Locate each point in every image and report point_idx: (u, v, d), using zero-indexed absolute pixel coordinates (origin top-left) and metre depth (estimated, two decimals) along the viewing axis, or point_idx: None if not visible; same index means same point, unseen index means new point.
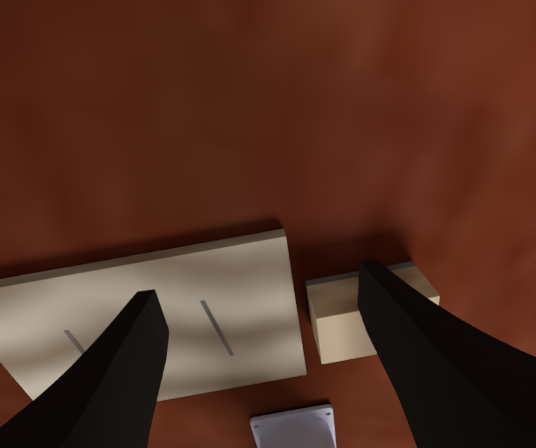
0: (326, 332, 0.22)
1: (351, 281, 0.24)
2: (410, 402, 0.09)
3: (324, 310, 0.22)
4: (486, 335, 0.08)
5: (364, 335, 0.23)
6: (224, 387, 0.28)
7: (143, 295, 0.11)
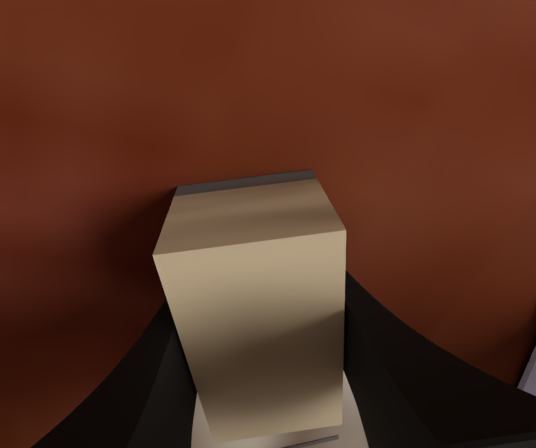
0: (253, 428, 0.11)
1: None
2: (364, 409, 0.09)
3: None
4: (430, 343, 0.07)
5: (273, 377, 0.10)
6: None
7: None
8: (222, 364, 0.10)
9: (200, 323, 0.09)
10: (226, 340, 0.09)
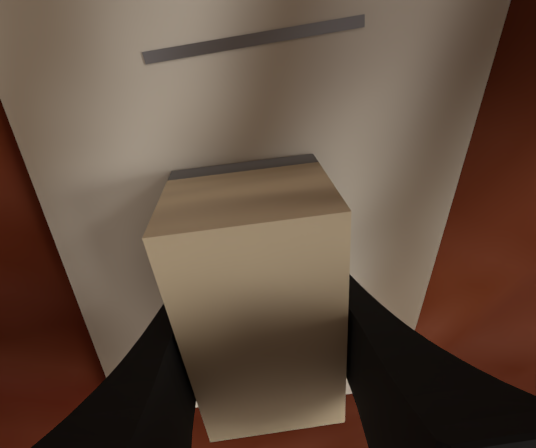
0: (251, 426, 0.11)
1: None
2: (364, 409, 0.09)
3: None
4: (430, 343, 0.07)
5: (272, 372, 0.10)
6: (483, 74, 0.10)
7: None
8: (218, 357, 0.09)
9: (194, 312, 0.08)
10: (222, 332, 0.09)
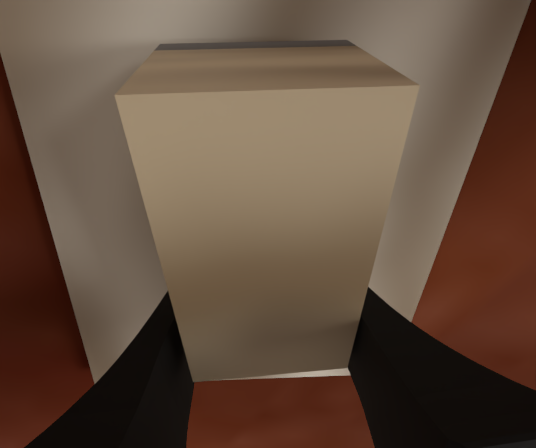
0: (242, 366, 0.09)
1: None
2: (370, 408, 0.09)
3: None
4: (437, 342, 0.07)
5: (275, 306, 0.08)
6: (518, 19, 0.09)
7: None
8: (211, 284, 0.07)
9: (184, 220, 0.06)
10: (219, 250, 0.07)
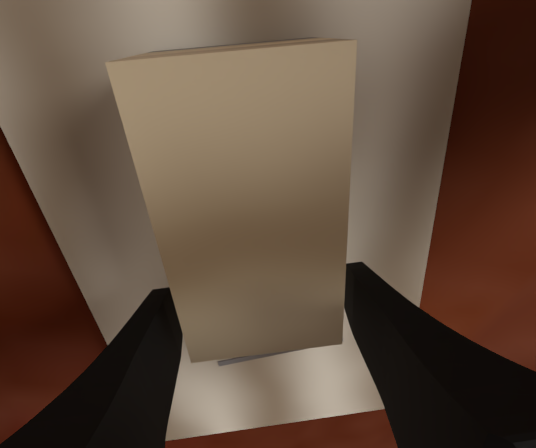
0: (237, 343, 0.10)
1: None
2: (392, 405, 0.09)
3: None
4: (464, 338, 0.08)
5: (261, 270, 0.08)
6: (441, 148, 0.12)
7: (158, 293, 0.11)
8: (199, 246, 0.08)
9: (170, 179, 0.07)
10: (203, 209, 0.07)
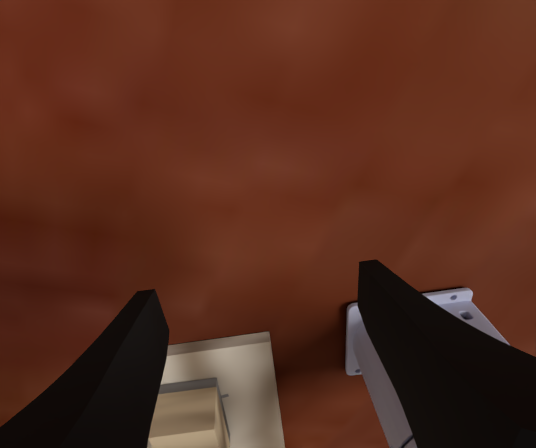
0: None
1: None
2: (410, 402, 0.09)
3: None
4: (486, 335, 0.08)
5: None
6: (276, 398, 0.29)
7: (143, 295, 0.11)
8: None
9: None
10: None
